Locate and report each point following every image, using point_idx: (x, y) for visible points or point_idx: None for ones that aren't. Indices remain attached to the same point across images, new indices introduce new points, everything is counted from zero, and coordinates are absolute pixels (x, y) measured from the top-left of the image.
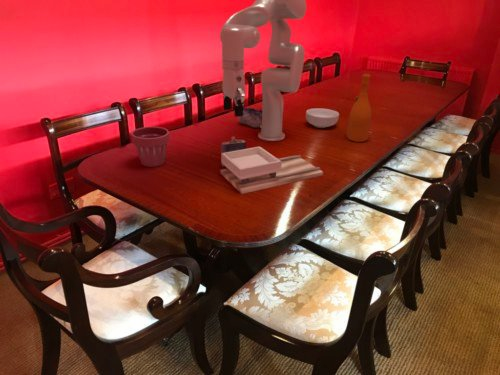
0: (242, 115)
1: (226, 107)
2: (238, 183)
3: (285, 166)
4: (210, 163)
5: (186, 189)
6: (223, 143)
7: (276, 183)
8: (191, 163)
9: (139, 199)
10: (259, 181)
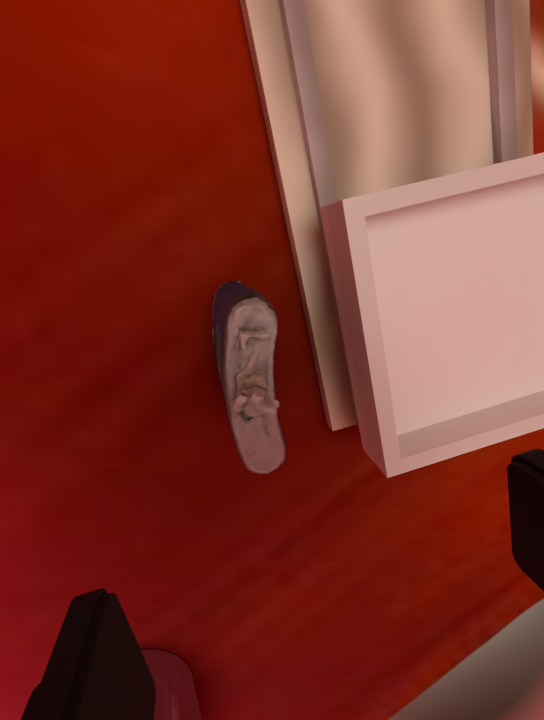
0: (535, 455)
1: (137, 704)
2: None
3: (382, 57)
4: (196, 459)
5: (422, 550)
6: (268, 463)
7: None
8: (180, 542)
9: (440, 669)
10: None
